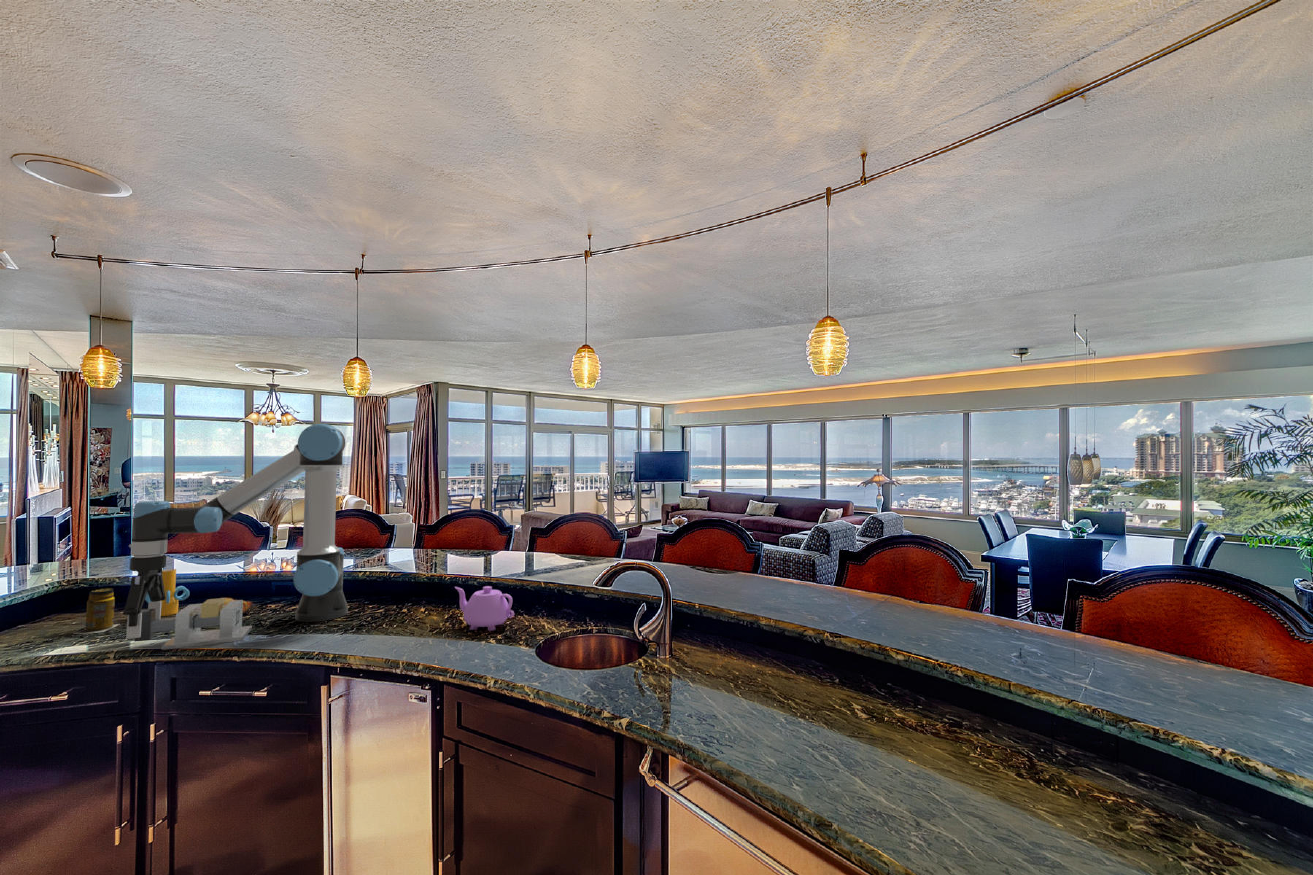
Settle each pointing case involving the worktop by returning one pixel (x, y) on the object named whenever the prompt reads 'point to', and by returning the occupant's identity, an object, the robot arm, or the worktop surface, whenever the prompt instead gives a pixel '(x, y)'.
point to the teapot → (485, 608)
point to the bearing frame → (196, 637)
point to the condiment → (99, 612)
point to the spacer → (212, 607)
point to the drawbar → (170, 623)
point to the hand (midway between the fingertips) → (143, 630)
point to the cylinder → (170, 593)
